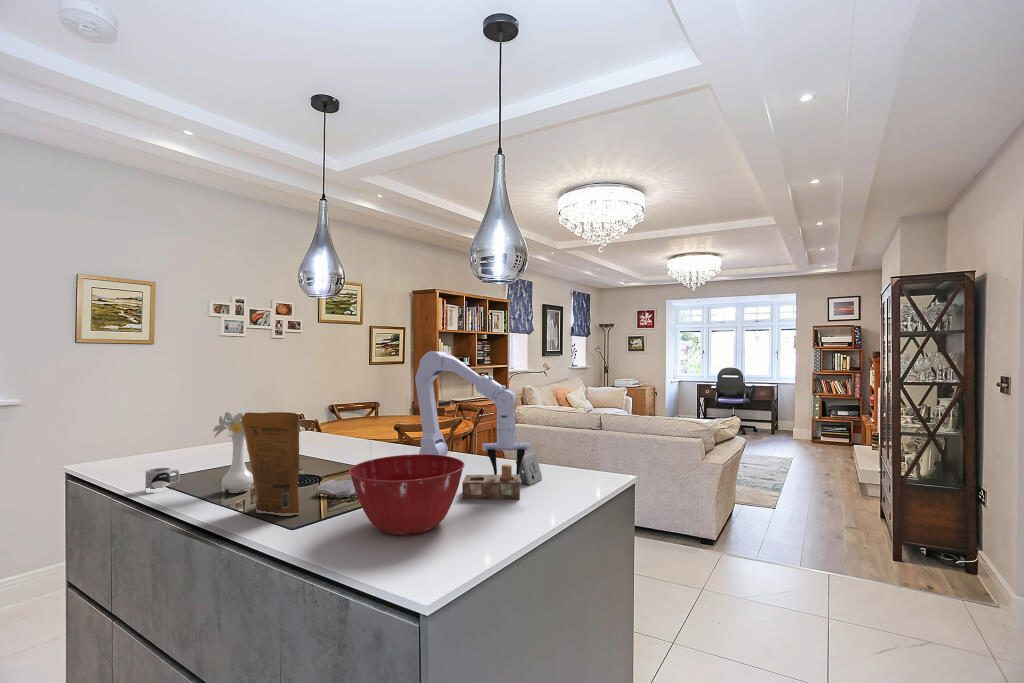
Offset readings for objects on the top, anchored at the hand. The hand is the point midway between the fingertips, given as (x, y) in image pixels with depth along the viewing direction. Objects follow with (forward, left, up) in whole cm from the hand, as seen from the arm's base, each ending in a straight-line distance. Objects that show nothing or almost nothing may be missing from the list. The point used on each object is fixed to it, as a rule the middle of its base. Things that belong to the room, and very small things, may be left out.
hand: (506, 474), depth 162 cm
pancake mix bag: (-63, -17, -7) cm, 66 cm away
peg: (0, 0, -5) cm, 5 cm away
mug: (-112, +8, -7) cm, 113 cm away
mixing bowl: (-24, -28, -7) cm, 38 cm away
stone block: (-53, +2, -7) cm, 53 cm away
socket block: (-4, 0, -6) cm, 8 cm away
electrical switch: (+7, +16, -7) cm, 19 cm away
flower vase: (-85, +6, -7) cm, 85 cm away
